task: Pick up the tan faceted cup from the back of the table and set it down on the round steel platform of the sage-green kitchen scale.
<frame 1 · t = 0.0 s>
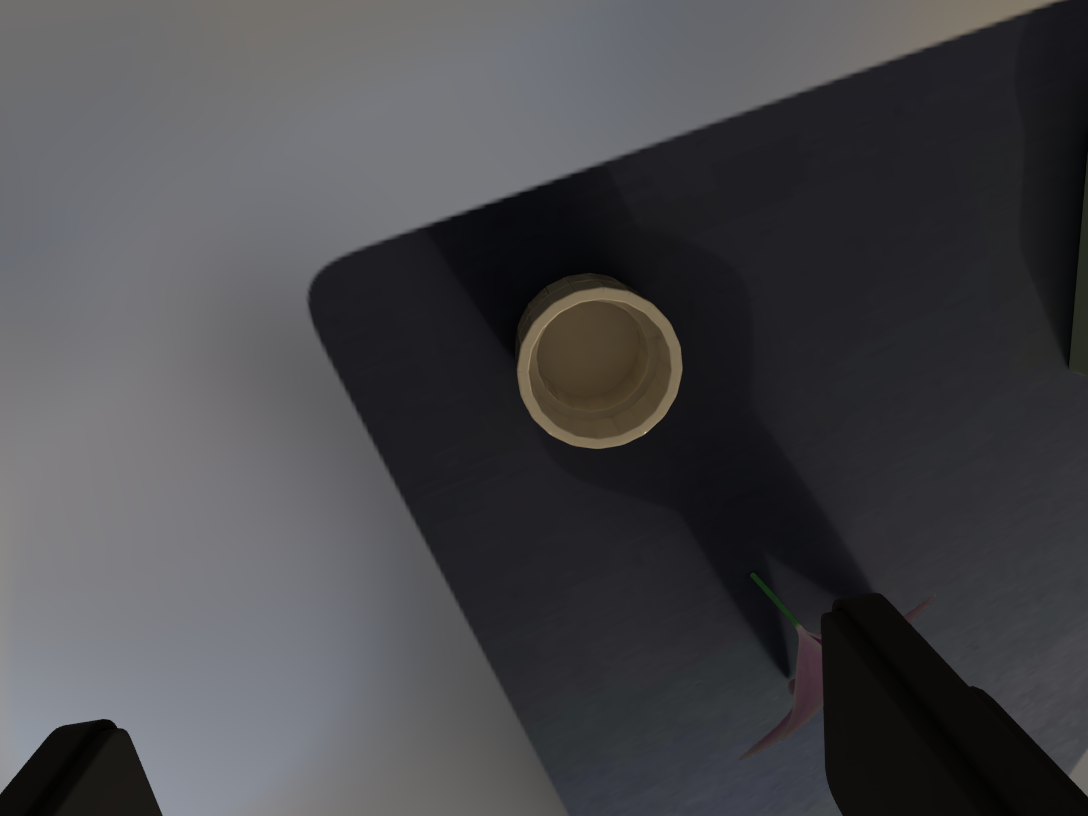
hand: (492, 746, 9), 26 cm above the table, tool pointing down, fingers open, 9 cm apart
lily: (794, 616, 41), on the table
tan faceted cup: (585, 343, 35), on the table
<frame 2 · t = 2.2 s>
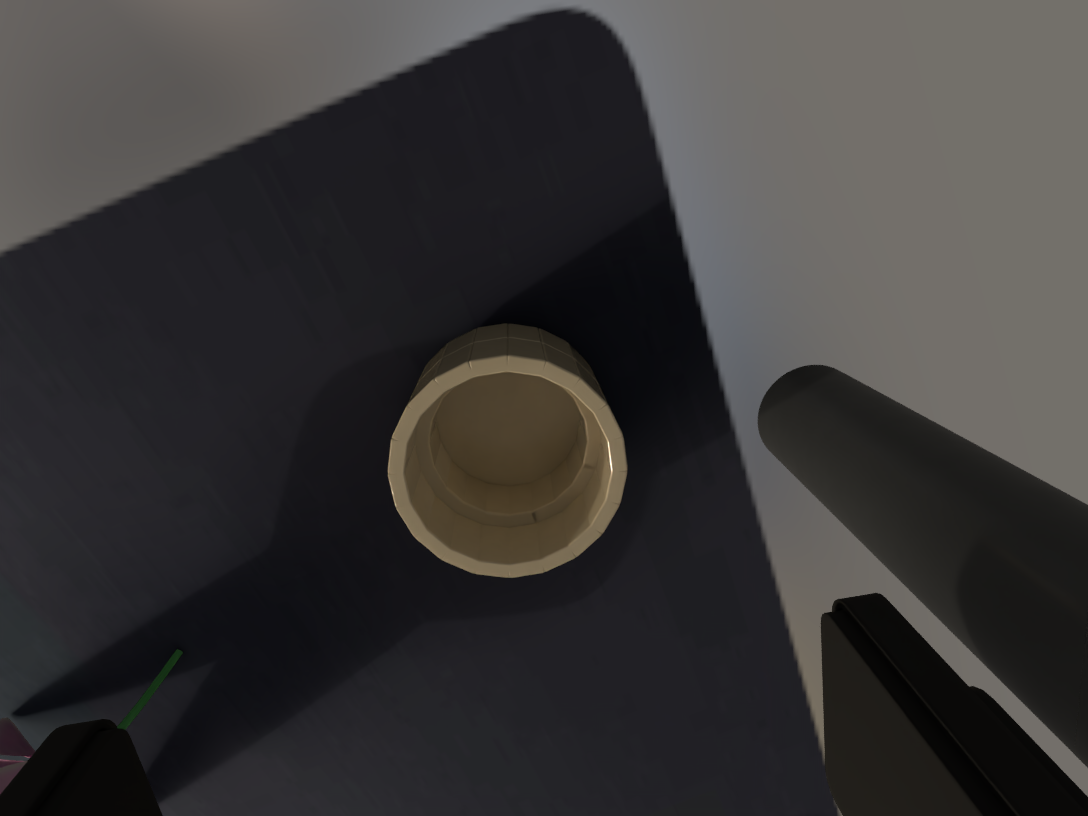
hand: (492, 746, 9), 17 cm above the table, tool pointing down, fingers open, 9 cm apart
lily: (119, 709, 29), on the table
tan faceted cup: (508, 415, 26), on the table
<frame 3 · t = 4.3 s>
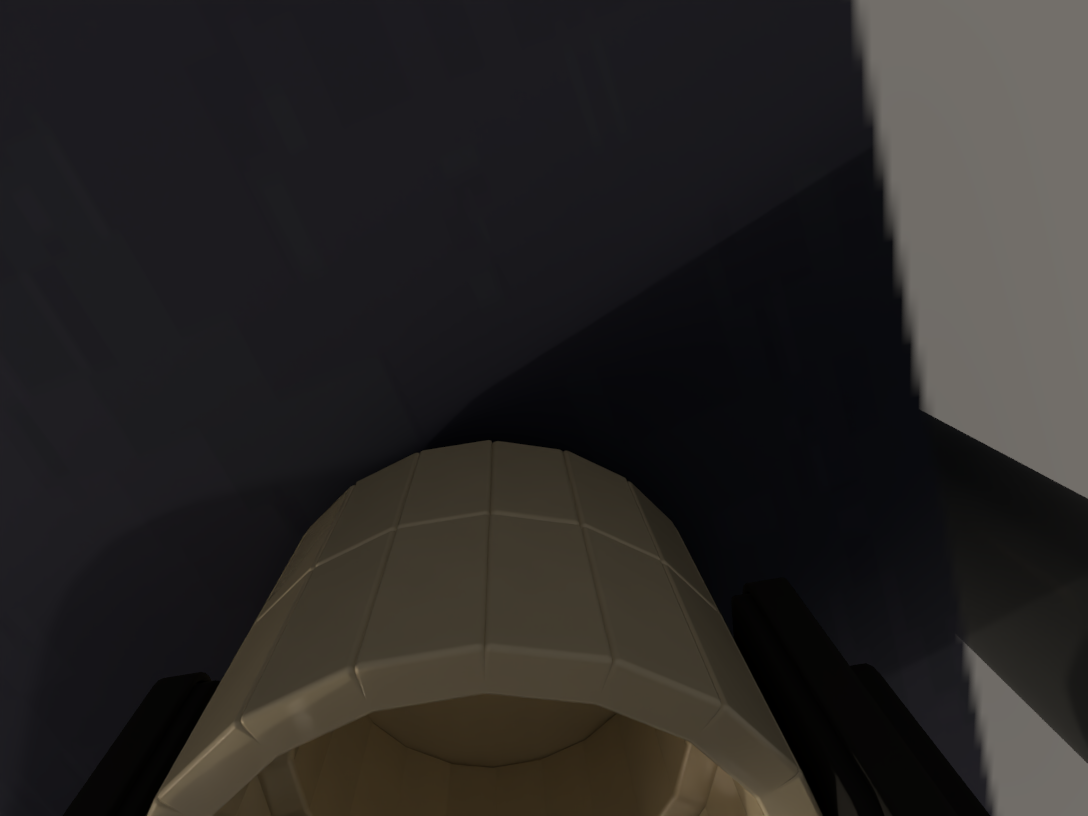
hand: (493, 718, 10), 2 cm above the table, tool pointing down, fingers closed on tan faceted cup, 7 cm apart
tan faceted cup: (495, 621, 12), on the table, touching gripper
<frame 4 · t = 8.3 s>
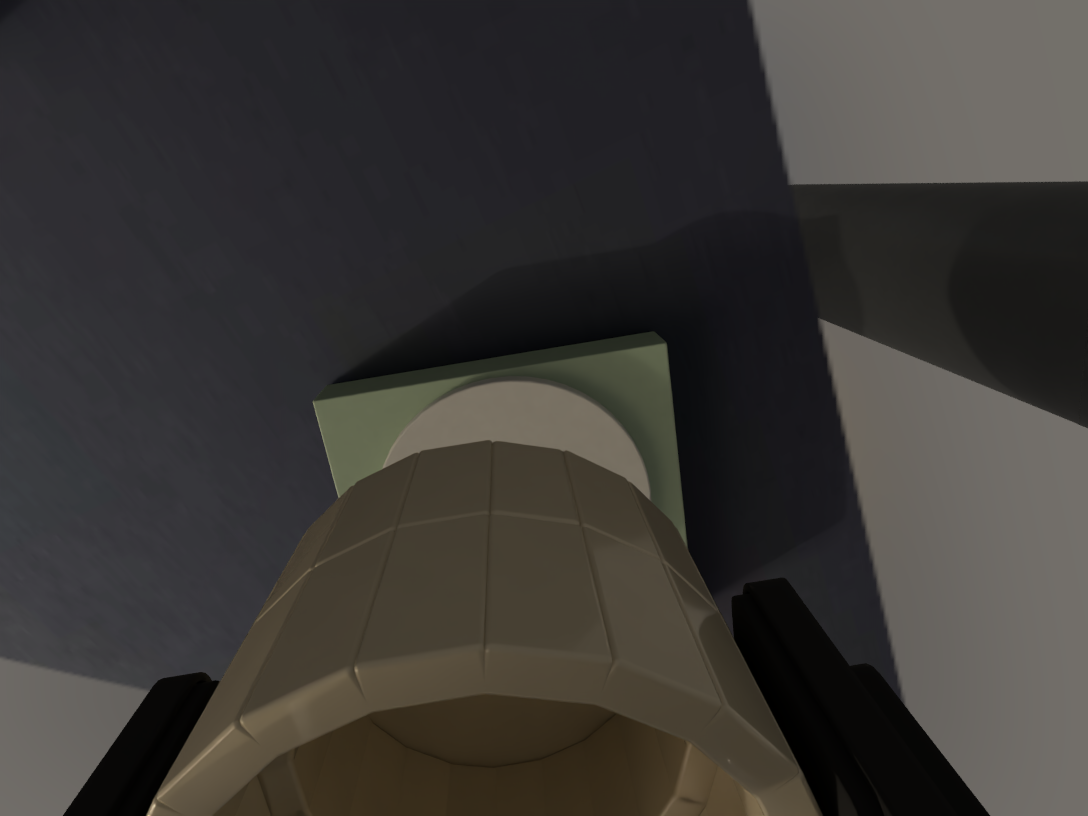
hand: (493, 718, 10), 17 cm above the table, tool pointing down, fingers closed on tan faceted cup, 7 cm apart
scale: (518, 506, 27), on the table
tan faceted cup: (495, 621, 12), point 14 cm above the table, touching gripper
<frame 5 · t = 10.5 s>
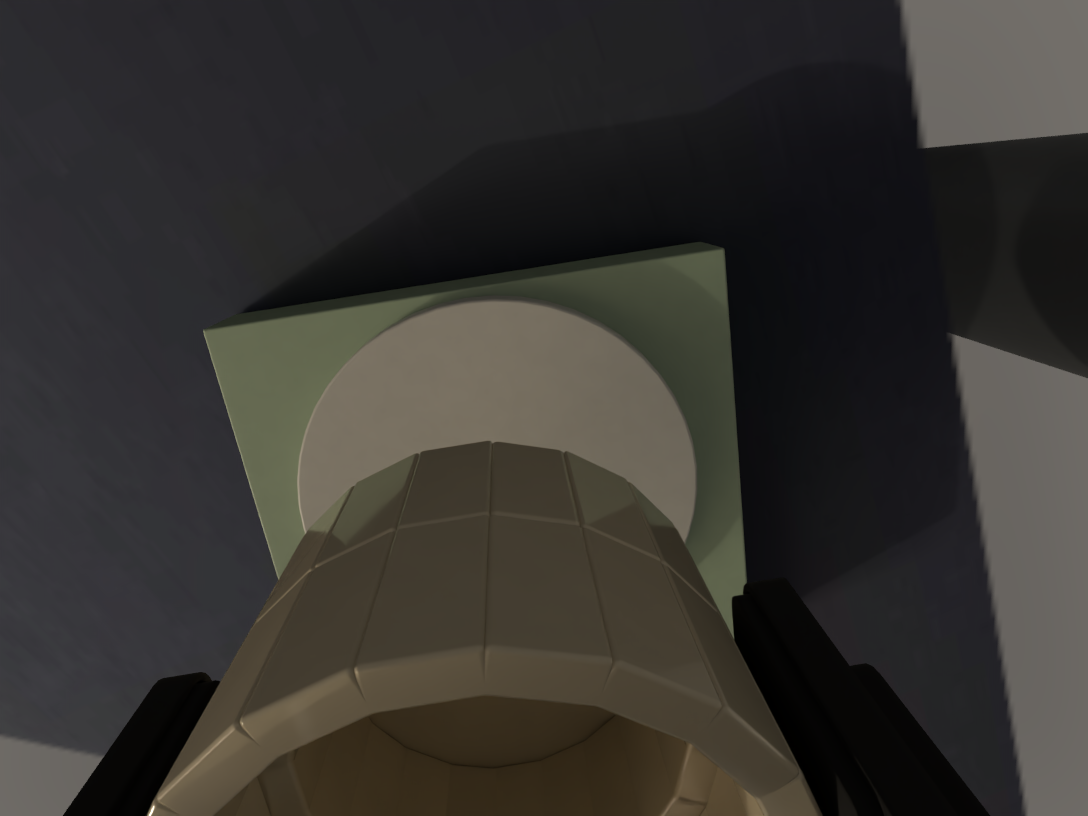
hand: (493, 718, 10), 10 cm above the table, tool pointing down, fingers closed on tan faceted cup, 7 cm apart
scale: (506, 491, 20), on the table
tan faceted cup: (495, 622, 12), point 8 cm above the table, touching gripper
when the fingers open (5 cm above the table, at t = 12.5 s): tan faceted cup moves 1 cm, resting on scale.
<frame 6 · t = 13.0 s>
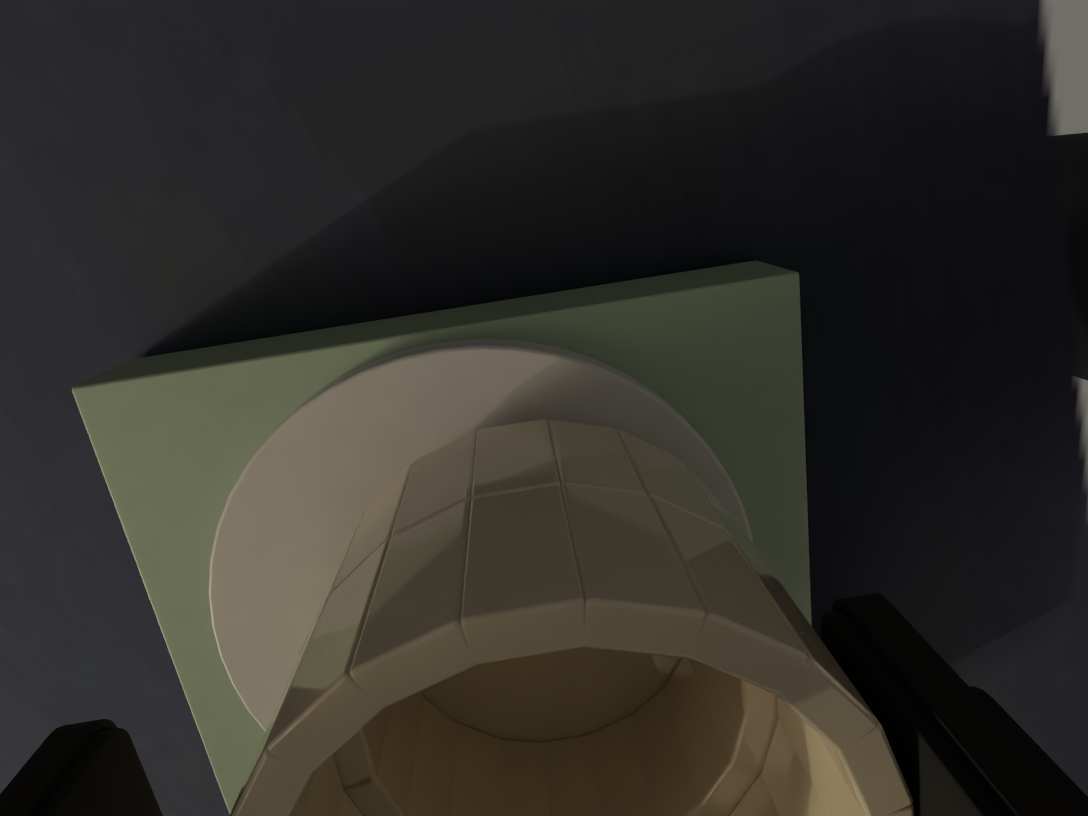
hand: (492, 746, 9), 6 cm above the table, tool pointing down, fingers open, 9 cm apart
scale: (498, 582, 15), on the table
tan faceted cup: (543, 599, 12), point 3 cm above the table, touching scale
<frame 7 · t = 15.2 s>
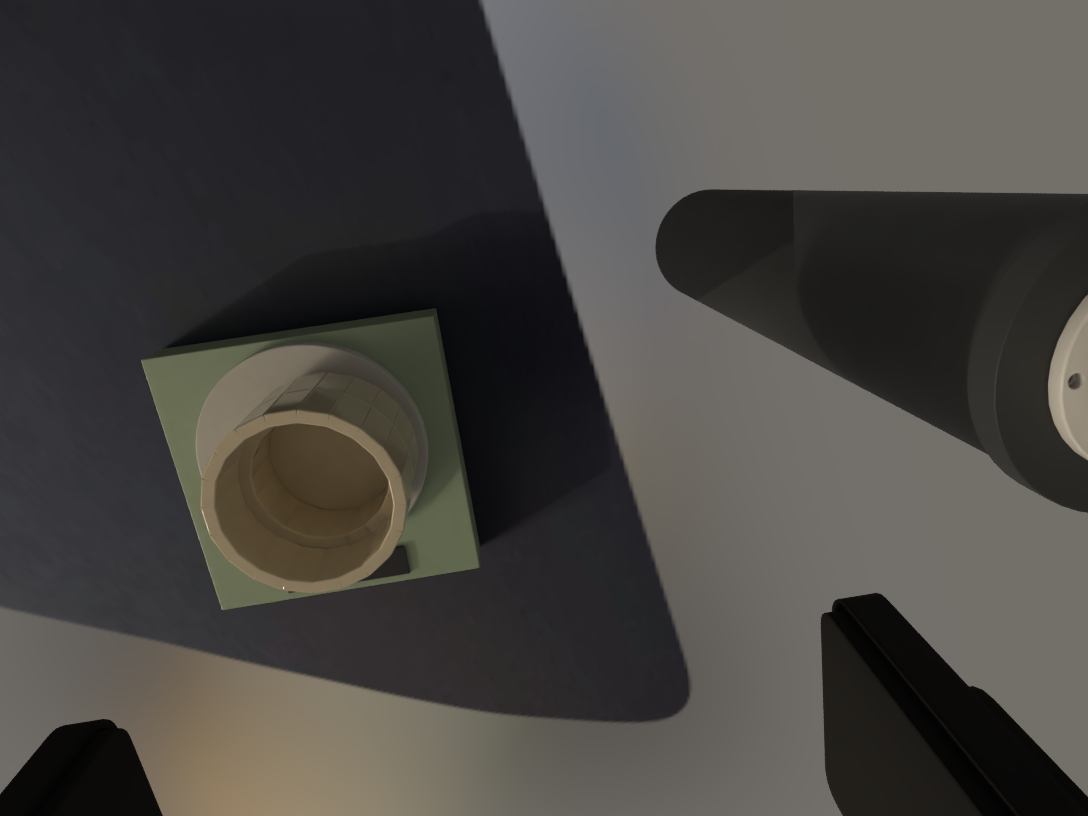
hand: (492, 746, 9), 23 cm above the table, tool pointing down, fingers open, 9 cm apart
scale: (331, 454, 32), on the table
tan faceted cup: (335, 449, 30), point 3 cm above the table, touching scale
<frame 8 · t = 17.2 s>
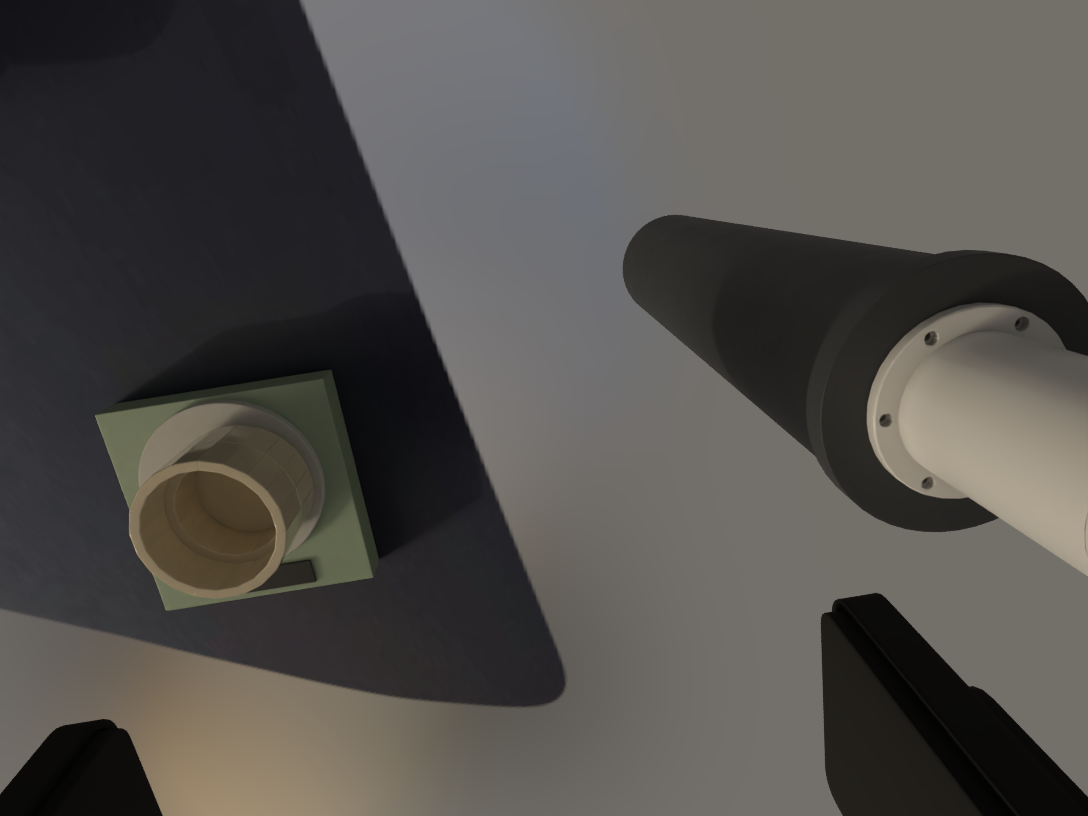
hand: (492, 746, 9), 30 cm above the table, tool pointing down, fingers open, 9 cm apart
scale: (253, 485, 40), on the table
tan faceted cup: (249, 483, 37), point 3 cm above the table, touching scale
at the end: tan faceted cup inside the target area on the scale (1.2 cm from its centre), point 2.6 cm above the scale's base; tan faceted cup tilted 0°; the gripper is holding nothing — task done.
